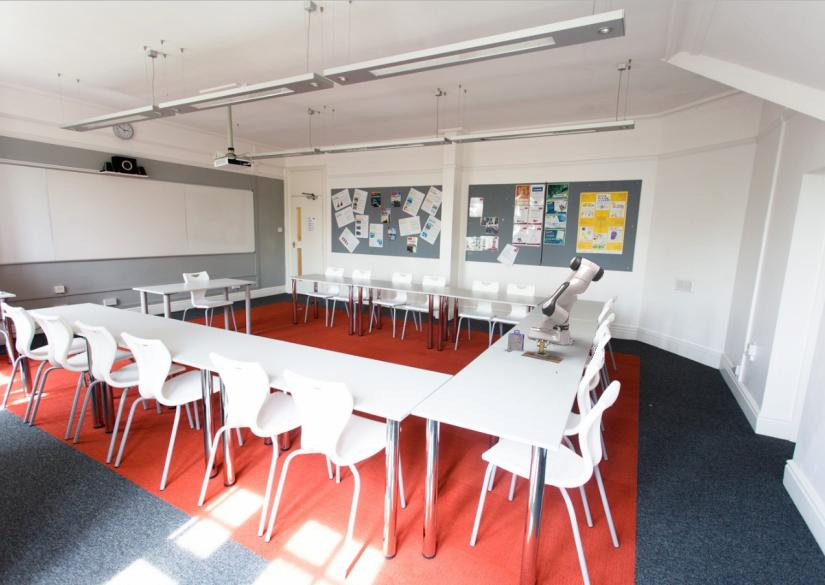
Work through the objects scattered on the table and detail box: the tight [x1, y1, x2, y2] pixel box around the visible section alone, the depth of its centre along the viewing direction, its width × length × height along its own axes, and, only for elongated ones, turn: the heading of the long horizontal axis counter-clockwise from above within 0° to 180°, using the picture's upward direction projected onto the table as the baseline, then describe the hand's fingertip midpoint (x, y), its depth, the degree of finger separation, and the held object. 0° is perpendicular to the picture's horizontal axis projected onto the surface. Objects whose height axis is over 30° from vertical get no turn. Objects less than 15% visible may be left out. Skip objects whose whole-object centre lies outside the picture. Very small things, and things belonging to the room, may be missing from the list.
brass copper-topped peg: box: [538, 340, 546, 355], centre depth 254 cm, size 3×3×10 cm
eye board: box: [520, 350, 565, 364], centre depth 257 cm, size 12×24×4 cm, turn 54°
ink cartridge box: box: [506, 329, 525, 352], centre depth 271 cm, size 10×6×14 cm, turn 63°
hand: (541, 347), depth 254 cm, fingers closed on brass copper-topped peg, 3 cm apart
